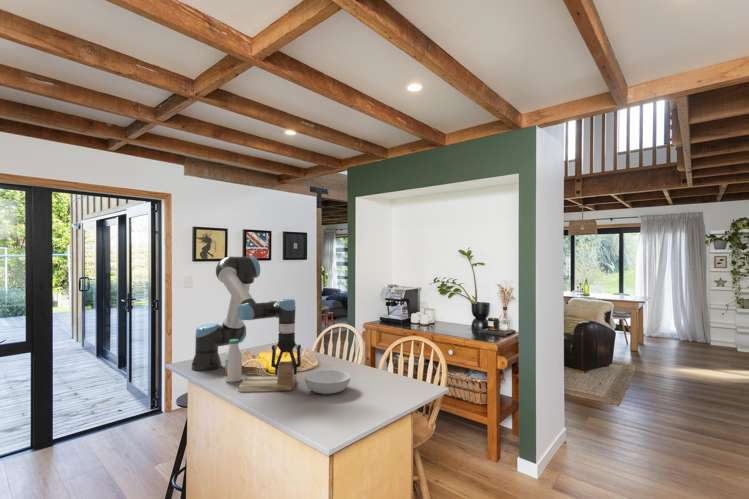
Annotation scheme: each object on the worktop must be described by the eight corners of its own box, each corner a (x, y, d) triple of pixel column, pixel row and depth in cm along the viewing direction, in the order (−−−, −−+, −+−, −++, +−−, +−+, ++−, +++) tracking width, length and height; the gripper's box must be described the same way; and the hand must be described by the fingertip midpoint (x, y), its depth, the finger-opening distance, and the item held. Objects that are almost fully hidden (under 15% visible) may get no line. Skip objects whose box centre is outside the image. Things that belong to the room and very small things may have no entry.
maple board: (246, 382, 189) (246, 376, 189) (295, 381, 191) (295, 376, 192) (238, 391, 175) (238, 386, 175) (292, 390, 178) (292, 385, 178)
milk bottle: (244, 378, 195) (244, 338, 196) (237, 383, 187) (237, 341, 188) (229, 377, 196) (230, 338, 196) (221, 382, 188) (222, 341, 189)
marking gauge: (280, 384, 184) (280, 361, 184) (293, 384, 184) (293, 361, 185) (277, 390, 176) (277, 366, 176) (290, 389, 176) (291, 366, 177)
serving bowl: (343, 400, 166) (343, 384, 166) (297, 396, 170) (297, 381, 170) (355, 385, 186) (355, 371, 186) (313, 382, 190) (314, 368, 190)
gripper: (264, 333, 177) (263, 384, 177) (306, 333, 179) (305, 383, 178) (267, 330, 185) (266, 379, 184) (307, 330, 187) (307, 379, 186)
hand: (285, 381), depth 181 cm, fingers closed on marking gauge, 6 cm apart
